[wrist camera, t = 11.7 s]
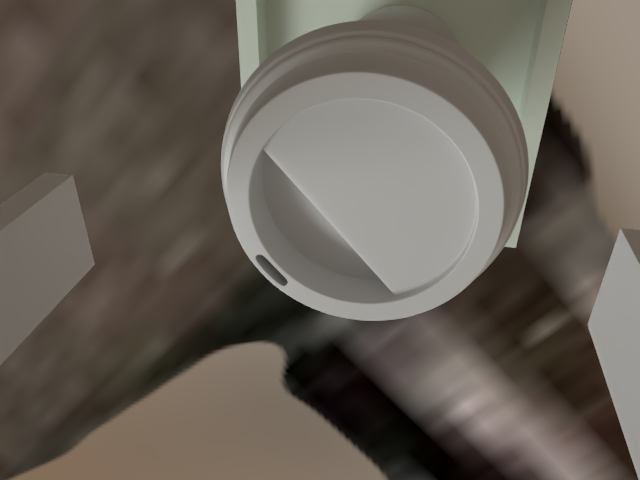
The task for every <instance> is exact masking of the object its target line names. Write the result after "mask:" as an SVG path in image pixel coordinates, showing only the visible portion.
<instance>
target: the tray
mask: <svg viewBox="0 0 640 480" xmlns="http://www.w3.org/2000/svg"><path fill="white" fill-rule="evenodd" d="M396 5H406V6H413V7H418V8H421V9H424V10H426V11H428V12H430V13H432V14H434V15H435V16H437V17H438V18H440V19H441V20H442V21H443V22H444V23H445V24H446V25H447V26H448V27H449V28H450V29H451V31H452V32H453V33H454V35H455V37H456V38H457V40H458V42H459V44H460V46H461V47H462V48H463V49H464V50H466V51H467V52H468V53H470V54H471V55H472V56H474V57H475V58H476V59H477V60H478V61H480V62H481V63H482V64H483V65H484V66H485V67H486V68H487V69H488V70H489V71H490V72H491V73H492V74H493V76H494V77H495V78H496V79H497V80H498V82H499V83H500V84H501V86H502V87H503V88H504V90H505V91H506V93H507V94H508V96H509V98H510V99H511V101H512V103H513V105H514V107H515V109H516V111H517V113H518V116H519V118H520V121H521V124H522V127H523V130H524V134H525V138H526V143H527V149H528V158H529V176H528V185H527V191H526V196H525V200H524V204H523V207H522V210H521V213H520V216H519V218H518V221H517V223H516V226H515V228H514V230H513V232H512V234H511V236H510V238H509V240H508V241H507V243H506V244H505V246H504V247H513V248H516V244H517V240H518V236H519V231H520V227H521V223H522V218H523V214H524V210H525V205H526V201H527V196H528V192H529V188H530V183H531V179H532V175H533V170H534V166H535V162H536V157H537V153H538V148H539V144H540V140H541V135H542V131H543V127H544V122H545V118H546V114H547V109H548V105H549V101H550V96H551V92H552V87H553V83H554V78H555V74H556V70H557V65H558V61H559V57H560V53H561V48H562V43H563V39H564V35H565V31H566V26H567V22H568V18H569V13H570V9H571V5H572V0H236V11H237V27H238V43H239V59H240V75H241V89H242V87H243V86H244V84H245V83H246V81H247V80H248V78H249V77H250V76H251V75H252V73H253V72H254V71H255V70H256V69H257V68H258V67H259V66H260V64H262V63H263V62H264V61H265V60H266V59H267V58H268V57H269V56H270V55H271V54H273V53H274V52H275V51H277V50H278V49H279V48H281V47H282V46H284V45H285V44H287V43H288V42H290V41H292V40H294V39H295V38H297V37H299V36H301V35H304V34H306V33H308V32H311V31H313V30H316V29H319V28H322V27H325V26H329V25H333V24H338V23H343V22H350V21H358V20H359V19H361V18H363V17H364V16H366V15H368V14H369V13H371V12H373V11H376V10H378V9H381V8H384V7H389V6H396Z"/></svg>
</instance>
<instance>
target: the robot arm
mask: <svg viewBox="0 0 640 480" xmlns="http://www.w3.org/2000/svg"><path fill="white" fill-rule="evenodd" d="M94 265H95V264H94V260H93V256H92V252H91V248H90V244H89V239H88V235H87V231H86V227H85V223H84V219H83V215H82V211H81V207H80V203H79V199H78V195H77V191H76V187H75V183H74V179H73V175H65V174H55V173H44V174H43V175H41V176H40V177H38V178H37V179H36V180H34V181H33V182H31V183H30V184H29V185H27V186H26V187H24V188H23V189H21V190H20V191H19V192H17V193H16V194H14V195H13V196H12V197H10V198H9V199H7V200H6V201H4V202H3V203H2V204H0V365H1V364H2V363H3V362H4V361H5V360H6V359H7V358H8V357H9V356H10V354H11V353H12V352H13V351H14V350H15V349H16V348H17V347H18V346H19V345H20V344H21V343H22V342H23V341H24V339H25V338H26V337H27V336H28V335H29V334H30V333H31V332H32V331H33V330H34V329H35V328H36V327H37V326H38V325H39V323H40V322H41V321H42V320H43V319H44V318H45V317H46V316H47V315H48V314H49V313H50V312H51V311H52V310H53V308H54V307H55V306H56V305H57V304H58V303H59V302H60V301H61V300H62V299H63V298H64V297H65V296H66V295H67V294H68V292H69V291H70V290H71V289H72V288H73V287H74V286H75V285H76V284H77V283H78V282H79V281H80V280H81V279H82V277H83V276H84V275H85V274H86V273H87V272H88V271H89V270H90V269H91V268H92V267H93V266H94ZM588 328H589V331H590V334H591V337H592V340H593V343H594V346H595V349H596V352H597V355H598V358H599V361H600V364H601V367H602V370H603V373H604V376H605V379H606V382H607V385H608V388H609V391H610V394H611V397H612V400H613V403H614V406H615V409H616V412H617V415H618V418H619V421H620V424H621V427H622V430H623V433H624V436H625V439H626V442H627V446H628V449H629V452H630V455H631V458H632V461H633V464H634V467H635V470H636V473H637V476H638V479H639V480H640V230H633V229H622V228H621V229H620V232H619V235H618V237H617V240H616V243H615V246H614V249H613V252H612V255H611V258H610V261H609V264H608V267H607V269H606V272H605V275H604V278H603V281H602V284H601V287H600V290H599V293H598V296H597V299H596V302H595V304H594V307H593V310H592V313H591V316H590V319H589V322H588Z"/></svg>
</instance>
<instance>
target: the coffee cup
mask: <svg viewBox="0 0 640 480" xmlns="http://www.w3.org/2000/svg"><path fill="white" fill-rule="evenodd" d="M221 175H222V183H223V190H224V195H225V200H226V204H227V207H228V210H229V214H230V218H231V222H232V225H233V228H234V230H235V233H236V235H237V238H238V240H239V242H240V244H241V245H242V247H243V249H244V251H245V252H246V254H247V255H248V257H249V258H250V260H251V261H252V262H253V264H254V265H255V266H256V267H257V268H258V270H259V271H260V272H261V273H262V274H263V275H264V276H265V277H266V278H267V279H268V280H269V281H270V282H271V283H273V284H274V285H275V286H276V287H277V288H279V289H280V290H281V291H283V292H284V293H286V294H287V295H289V296H290V297H292V298H293V299H295V300H297V301H299V302H300V303H302V304H304V305H306V306H309V307H311V308H313V309H316V310H318V311H321V312H324V313H327V314H330V315H334V316H338V317H342V318H348V319H355V320H366V321H382V320H393V319H400V318H405V317H409V316H413V315H417V314H420V313H423V312H426V311H428V310H431V309H433V308H435V307H437V306H439V305H441V304H443V303H445V302H447V301H448V300H450V299H451V298H453V297H454V296H456V295H457V294H459V293H460V292H461V291H462V290H464V289H465V288H466V287H467V286H468V285H469V284H470V283H471V282H472V281H473V280H474V279H476V278H477V277H478V276H479V275H480V274H481V273H482V272H483V271H484V270H485V269H486V268H487V267H488V266H489V265H490V264H491V263H492V262H493V260H494V259H495V258H496V257H497V256H498V254H499V253H500V252H501V250H502V249H503V247H504V246H505V244H506V243H507V241H508V240H509V238H510V236H511V234H512V232H513V230H514V228H515V226H516V223H517V221H518V218H519V216H520V213H521V210H522V207H523V204H524V200H525V196H526V191H527V185H528V176H529V158H528V149H527V143H526V138H525V134H524V130H523V127H522V124H521V121H520V118H519V116H518V113H517V111H516V109H515V107H514V105H513V103H512V101H511V99H510V98H509V96H508V94H507V93H506V91H505V90H504V88H503V87H502V86H501V84H500V83H499V82H498V80H497V79H496V78H495V77H494V76H493V74H492V73H491V72H490V71H489V70H488V69H487V68H486V67H485V66H484V65H483V64H482V63H481V62H480V61H478V60H477V59H476V58H475V57H474V56H472V55H471V54H470V53H468V52H467V51H466V50H464V49H463V48H462V47H461V46H460V44H459V42H458V40H457V38H456V37H455V35H454V33H453V32H452V31H451V29H450V28H449V27H448V26H447V25H446V24H445V23H444V22H443V21H442V20H441V19H440V18H438V17H437V16H435V15H434V14H432V13H430V12H428V11H426V10H424V9H421V8H418V7H413V6H406V5H396V6H389V7H384V8H381V9H378V10H376V11H373V12H371V13H369V14H368V15H366V16H364V17H363V18H361V19H359V20H358V21H350V22H343V23H338V24H333V25H329V26H325V27H322V28H319V29H316V30H313V31H311V32H308V33H306V34H304V35H301V36H299V37H297V38H295V39H294V40H292V41H290V42H288V43H287V44H285V45H284V46H282V47H281V48H279V49H278V50H277V51H275V52H274V53H273V54H271V55H270V56H269V57H268V58H267V59H266V60H265V61H264V62H263V63H262V64H260V66H259V67H258V68H257V69H256V70H255V71H254V72H253V73H252V75H251V76H250V77H249V78H248V80H247V81H246V83H245V84H244V86H243V87H242V89H241V90H240V92H239V94H238V96H237V98H236V100H235V102H234V104H233V106H232V109H231V112H230V114H229V117H228V121H227V124H226V129H225V133H224V138H223V143H222V152H221Z"/></svg>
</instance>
